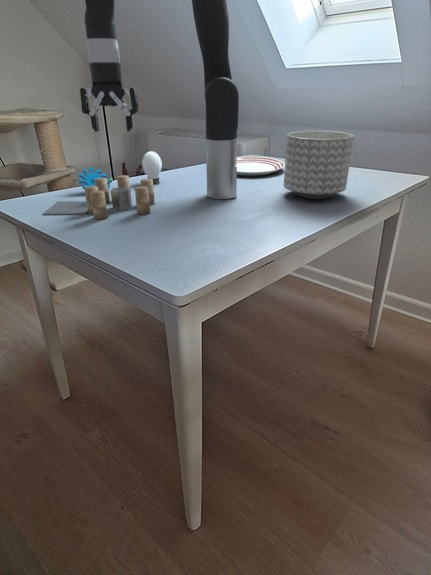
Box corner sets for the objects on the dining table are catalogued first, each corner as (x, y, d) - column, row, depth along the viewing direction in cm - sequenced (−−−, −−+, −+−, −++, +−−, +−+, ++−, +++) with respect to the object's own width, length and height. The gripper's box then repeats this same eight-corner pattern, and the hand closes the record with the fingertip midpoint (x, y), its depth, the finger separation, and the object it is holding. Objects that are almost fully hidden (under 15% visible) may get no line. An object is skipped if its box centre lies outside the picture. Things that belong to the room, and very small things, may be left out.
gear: (82, 192, 124) (76, 165, 126) (79, 202, 129) (73, 176, 131) (116, 192, 129) (110, 166, 132) (112, 202, 134) (106, 177, 137)
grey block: (133, 205, 117) (131, 186, 114) (129, 211, 112) (127, 191, 109) (116, 205, 117) (113, 186, 114) (111, 211, 112) (109, 192, 109)
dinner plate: (289, 178, 145) (290, 169, 143) (215, 179, 146) (215, 170, 144) (279, 164, 169) (280, 156, 168) (216, 164, 170) (216, 156, 168)
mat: (97, 202, 120) (97, 201, 119) (85, 214, 109) (85, 213, 109) (58, 202, 120) (57, 201, 120) (42, 215, 109) (42, 213, 109)
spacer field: (157, 197, 124) (155, 174, 120) (147, 219, 105) (144, 193, 101) (102, 198, 124) (98, 175, 121) (81, 220, 105) (76, 194, 102)
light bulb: (161, 180, 144) (158, 149, 138) (164, 184, 138) (162, 152, 133) (142, 182, 142) (139, 150, 136) (145, 186, 136) (142, 153, 131)
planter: (355, 195, 124) (365, 133, 115) (325, 208, 112) (333, 141, 103) (303, 185, 136) (308, 129, 127) (270, 196, 123) (274, 135, 115)
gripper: (136, 61, 100) (142, 129, 108) (80, 61, 100) (90, 129, 108) (130, 60, 93) (137, 133, 101) (71, 60, 93) (82, 133, 101)
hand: (113, 131), depth 104 cm, fingers open, 8 cm apart
